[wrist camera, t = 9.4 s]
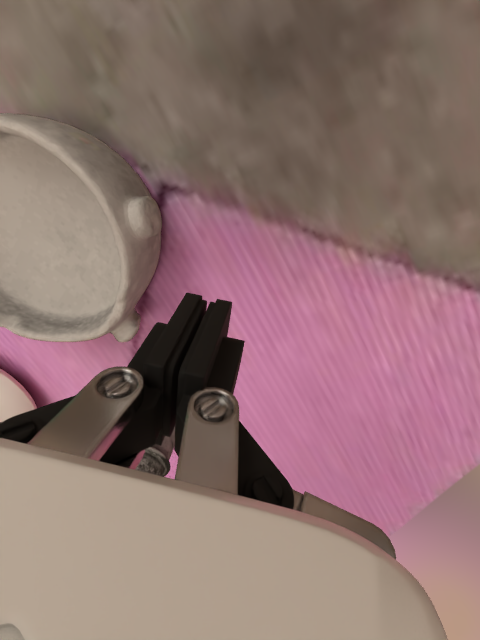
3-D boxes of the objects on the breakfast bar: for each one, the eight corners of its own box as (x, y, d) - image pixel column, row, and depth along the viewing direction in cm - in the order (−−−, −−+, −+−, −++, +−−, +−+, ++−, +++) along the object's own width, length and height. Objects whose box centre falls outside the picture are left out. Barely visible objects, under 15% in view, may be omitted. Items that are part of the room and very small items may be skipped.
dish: (-35, 253, 26) (-100, 280, 22) (-12, 56, 19) (-103, 39, 15) (133, 347, 28) (104, 388, 24) (211, 202, 21) (187, 224, 17)
